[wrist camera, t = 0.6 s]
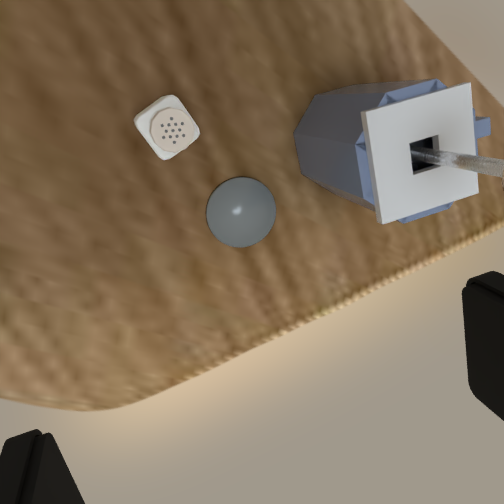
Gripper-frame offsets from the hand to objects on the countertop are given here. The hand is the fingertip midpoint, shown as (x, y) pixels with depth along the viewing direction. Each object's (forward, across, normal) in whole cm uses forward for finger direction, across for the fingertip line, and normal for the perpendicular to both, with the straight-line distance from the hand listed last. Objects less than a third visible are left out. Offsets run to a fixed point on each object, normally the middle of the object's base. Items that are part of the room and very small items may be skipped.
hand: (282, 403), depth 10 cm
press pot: (+38, -20, +2) cm, 43 cm away
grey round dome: (+37, -7, +6) cm, 39 cm away
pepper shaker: (+38, -2, -4) cm, 38 cm away
